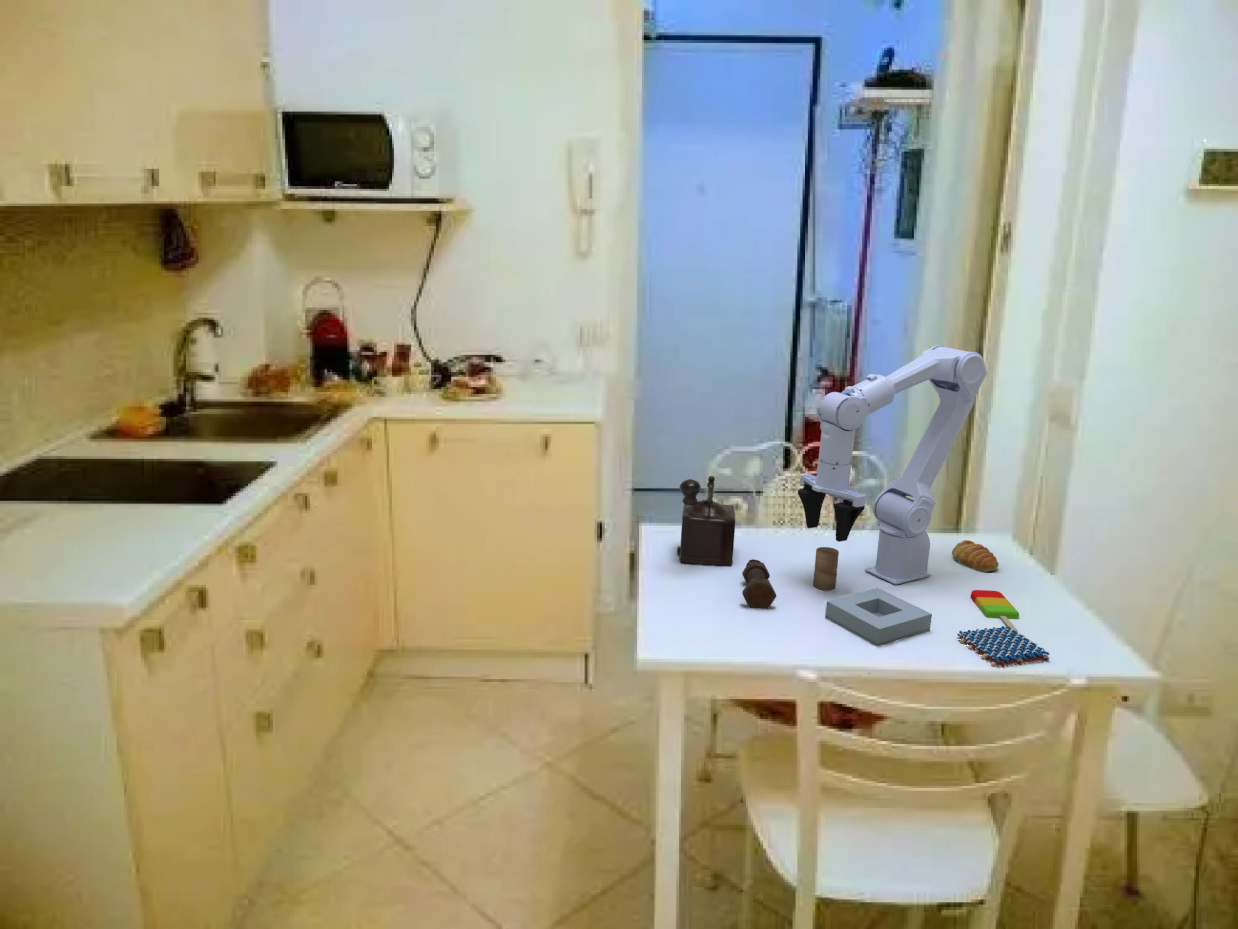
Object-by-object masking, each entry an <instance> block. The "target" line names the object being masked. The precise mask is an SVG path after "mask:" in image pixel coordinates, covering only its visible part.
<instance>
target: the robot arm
mask: <svg viewBox="0 0 1238 929" xmlns="http://www.w3.org/2000/svg"><path fill="white" fill-rule="evenodd" d="M987 375H988V373H987V368H986V365H985V360H984V358H983V357H982V355H981V354H980V353H979V352H976V351H966V350H961V349H957V348H951V347H947V346H944V345H943V344H942V345H941V344H937V345H934V346H932V347H931V348H929V349H925V350H923V351H922V352H921V355H920V356H918V358H916V359H914V360H912V361H910V362H909V363H907V364H905V365H903V366H901V367H900V368H898V369H897V370H895V371H894V372H892V373H890V374H888V375H886V376H884V375H882V374H873V373H870V374H868V375H867V376H866V377H865V378H866V379H864V380H862V381H860V382H858V383H856V384H855V385H853V386H851V385H850V386H849V385H847V386H846V387H845V388H844V390H842V391H841V392H839V391H838V392H837V391H832V392H829V393H827V394H826V395H825V396H823V398H822V399H821V401H820V403H819V405H818V406H816V411H815V412H816V415H817V417H818V419H819V422H820V426H819V429H820V430H821V434H820V442H819V450H818V451H819V452H818V460H817V461H818V462H817V470H816V475H813V474H810V473H805V474H800V478H799V480H800V481H799V485H800V486H802V487H803V488H799V489H798V490H797V495H798V497H799V500H800V501H801V505H802V507H803V510H804V512H803V513H804V515H805V516H804V517H805V523H806V524H805V525H806V528H807V529H813V528H818V527H819V523H820V520H821V512H822V507H823V504H824V501H825V498H826V496H827V495H828V496H831V497H833V498H836V499H839V500H841V501H842V502H837V503H833V510H834V513H835V522H836V524H835V541H836V542H845V541H848V538H849V536H850V533H851V530H852V528H853V527H854V524H855V523H856V521H857V519H858V518H859V516H860V515H861V513H862V512H863V511H864V510H865V509H866V508H865V507H866V505H865V504H866V495H865V494H863V493H861V492H859V491H857V489H855V488H854V487H852V486H850V480H851V479H850V477H851V469H852V461H853V454H854V453H853V452H854V446H855V445H854V444H855V435H856V429H858V428H859V427H861V425H862V424H863V422H864V420H865V419H866V418H867V417H868V416H869V415H871V414H873V413H875V412H877V411H879V410H881V409H883V408H885V407H886V406H889V405H891V404H892V403H893V402H894V400H895V399H894V398H895V395H896V394H898V393H901V392H902V391H903V392H904V391H905V390H907V389H910V388H912V387H915V386H917V385H920V384H922V383H923V382H924V383H925V382H926V381H929V382H930V384H931V385H932V387H933V389H934V390H935V392H936V393H937V394H938V397H939V404H938V405H937V408H936V410H935V412H934V414H933V415H932V417H931V420H930V421H929V423H928V425H927V428H926V429H925V431H924V433H923V435H922V437H921V438H920V440H919V442H918V445H917V447H916V448H915V450H914V452H913V454H912V456H911V458H910V460H909V462H908V464H907V466H906V468H905V470H904V472H903V474H902V475H901V476H900V477H897V478H895V479H893V480H891V481H889V482H888V483H887V485H886V487H885V488H884V489H883V491H881V493H879V494H878V495H877V496H876V498H875V499H874V502H873V505H872V511H873V512H872V513H873V516H874V518H875V519H876V520H877V526H878V527H879V530H878V531H879V534H878V543H877V551H876V560H875V565H872V566H868V567H865V569H864V570H865V571H866V572H867V573H869V574H872V575H874V576H875V577H878V578H879V579H881V580H885V581H887V582H889V583H891V584H893V585H900V584H905V583H908V582H913V581H916V580H920V579H923V578H928V577H930V576H931V573H930V572H928V566H929V557H930V552H931V550H930V549H931V540H930V537H929V534H928V533H927V531H926V530H927V529H928V527H929V525H930V524H931V520H932V513H933V510H934V509H935V506H936V501H935V499H934V498H935V497H933V494H932V492H931V488H932V485H934V484H933V483H934V482H935V480H936V478H937V476H938V474H939V472H940V470H941V468H942V466H943V465H944V463H945V461H946V459H947V457H948V455H949V454H950V451H951V449H952V447H953V445H954V443H955V441H956V440H957V437H958V436H959V434H960V432H961V430H962V428H963V425H964V424H965V422H966V420H967V418H968V416H969V414H970V413H971V411H972V408H973V407H974V404H975V400H976V397H977V396H976V395H977V393H978V391H979V389H980V387H981V386H982V385H983V382H984V380H985V377H986V376H987ZM909 497H910V498H909ZM911 498H913V499H911Z"/></svg>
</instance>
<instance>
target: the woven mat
mask: <svg viewBox="0 0 1238 929" xmlns="http://www.w3.org/2000/svg"><path fill="white" fill-rule="evenodd" d="M956 634H957V637H958V639H961V640H959V642H960V643H961V644H964V645H966V644H968V645H969V646H968V647H967V648H968V650H971V649H975V650H974V651H975V652H980V653H978V654H979V655H980V654H981V655H982V656H980V658H981V659H983V660H984V659H985V662H986V663H987V662H989V663H990V665H991V666H992V667H994V668H996V667H1002V668H1004V667H1005V666H1011V665H1012V666H1013V665H1017V664H1018V665H1020V664H1027V663H1029V664H1030V663H1038V662H1043V661H1044V662H1045V661H1046V662H1047V661H1050V657H1049V656H1050V654H1051V653H1050V652H1049V651H1046V650H1045V648H1044V647H1040V646H1039V645H1038V643H1036V642H1034V641H1032V640H1031V639H1029V638H1027V637H1026V635H1023V634H1021V633H1019V631H1018V630H1017V631H1015V630H1013V628H1012V629H1011V627H1007V626H1006V627H1005V626H1004V625H1002V626H1001V627H994V626H993V627H992V628H987V627H985V628H984V629H979V628H976V629H975V630H970V629H968V630H967V631H963V630H959V631H958V633H956ZM1037 645H1038V646H1037ZM975 652H974V653H975ZM979 655H978V656H979ZM986 659H987V660H986Z"/></svg>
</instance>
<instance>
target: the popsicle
mask: <svg viewBox="0 0 1238 929" xmlns="http://www.w3.org/2000/svg"><path fill="white" fill-rule="evenodd" d="M970 593H971V594H970V599H971V600H972V602H973V603H974V605H975V606H976V607H977V608H978V610H979V611H980V612H981V613H982V614H983V616H984V617H985V618H988V619H989V618H991V619H1000V620H1001V621H1002V622H1003V623H1004V624H1005V625H1006V627H1011V629H1012V628H1013V630H1015V631H1017V632H1018V629H1017V627H1016V626H1015V625H1014V624H1013V623H1012V622H1011V621H1010V620H1011V619H1013V620H1014V619H1015V620H1019V618H1020V613H1019V611H1018V610H1017V609H1016V608H1015V606H1014V605H1013V604H1012V603H1011V602H1010V601H1009V600H1008V599H1007V598H1006V597H1005V595H1004V594H1003V593H1002V592H1000V591H999V590H987V589H974V590H972V591H971V592H970Z"/></svg>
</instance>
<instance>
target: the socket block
mask: <svg viewBox="0 0 1238 929" xmlns="http://www.w3.org/2000/svg"><path fill="white" fill-rule="evenodd" d="M825 604H826V605H825V616H824V617H825V619H828V620H829V621H831V622H833V623H834V624H837V626H840V627H842V628H843V629H845V630H847V631H849V632H851V633H853V634H854V635H857V637H860V638H862V639H863V640H865V641H867V642H869V643H871V644H873V645H874V646H875V647H879V646H883V645H886V644H890V643H894V642H897V641H900V640H903V639H905V638H910V637H914V636H917V635H919V634H923V633H927V632H930V630H931V624H932V616H933V614H932V613H931V612H929V611H927V610H925V609H922V608H920V607H919V606H917V605H915V604H912V603H910V602H908V601H906V600H904V599H902V598H900V597H898V596H896V595H894V594H891V593H890V592H888V591H885V590H883V589H881V588H879V587H876V588H873V589H872V588H871V589H868V590H864V591H861V592H857V593H856V592H855V593H852V594H850V595H849V594H848V595H844V596H841V597H837V598H834V599H830V600H827V601H826V603H825Z"/></svg>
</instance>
